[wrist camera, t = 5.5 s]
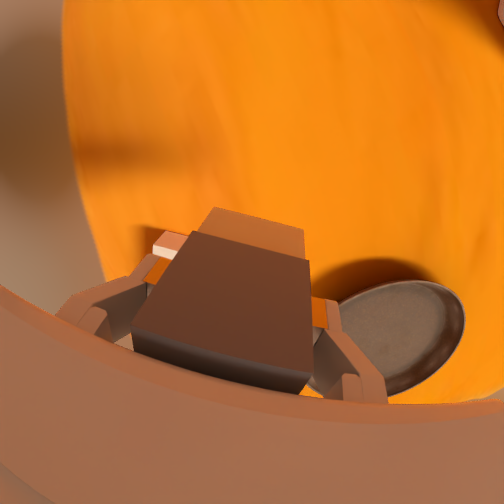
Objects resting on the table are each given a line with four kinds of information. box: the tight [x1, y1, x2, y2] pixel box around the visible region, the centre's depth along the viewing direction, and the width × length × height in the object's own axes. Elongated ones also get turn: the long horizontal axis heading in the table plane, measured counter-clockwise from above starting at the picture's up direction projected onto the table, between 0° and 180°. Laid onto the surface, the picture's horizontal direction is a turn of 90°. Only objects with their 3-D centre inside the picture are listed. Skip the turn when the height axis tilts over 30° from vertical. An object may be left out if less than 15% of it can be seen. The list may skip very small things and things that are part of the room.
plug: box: [130, 207, 314, 395], centre depth 9 cm, size 4×4×7 cm
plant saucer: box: [306, 279, 466, 398], centre depth 28 cm, size 21×21×3 cm
